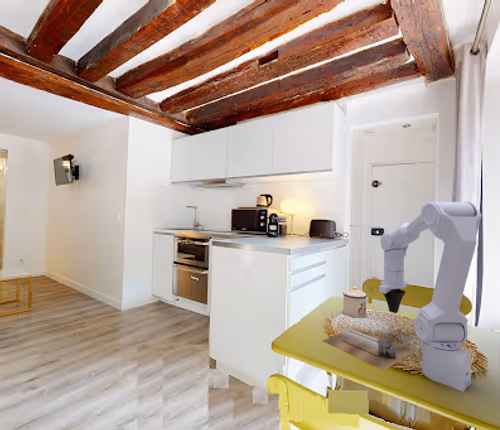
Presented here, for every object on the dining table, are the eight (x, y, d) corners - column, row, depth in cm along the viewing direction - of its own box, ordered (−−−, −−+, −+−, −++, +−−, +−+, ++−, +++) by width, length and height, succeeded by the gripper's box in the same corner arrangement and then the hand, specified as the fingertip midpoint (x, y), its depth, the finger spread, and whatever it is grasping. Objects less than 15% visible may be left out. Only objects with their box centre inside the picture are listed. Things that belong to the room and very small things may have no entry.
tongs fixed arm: (393, 356, 75) (393, 341, 75) (387, 359, 73) (387, 344, 73) (347, 337, 87) (347, 324, 87) (341, 339, 85) (341, 326, 85)
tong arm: (397, 356, 75) (397, 345, 75) (392, 359, 73) (393, 348, 73) (348, 336, 87) (349, 327, 87) (344, 338, 86) (344, 329, 86)
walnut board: (415, 353, 79) (416, 350, 79) (384, 374, 68) (384, 370, 68) (354, 330, 95) (354, 327, 95) (321, 343, 85) (321, 340, 85)
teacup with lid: (362, 321, 104) (362, 291, 104) (339, 315, 110) (339, 287, 110) (371, 313, 113) (371, 285, 113) (349, 308, 119) (350, 281, 119)
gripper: (392, 266, 95) (391, 304, 95) (370, 270, 86) (369, 312, 86) (413, 269, 89) (413, 310, 89) (392, 274, 81) (391, 319, 81)
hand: (393, 312), depth 87 cm, fingers closed
